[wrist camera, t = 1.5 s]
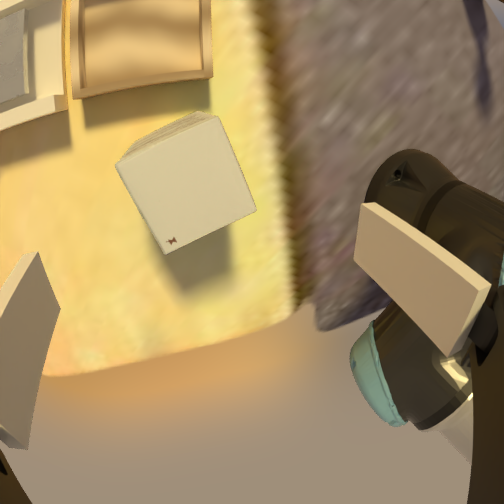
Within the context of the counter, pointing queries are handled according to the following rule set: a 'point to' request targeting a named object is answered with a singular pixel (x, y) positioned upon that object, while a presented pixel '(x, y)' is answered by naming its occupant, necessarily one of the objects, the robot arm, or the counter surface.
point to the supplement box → (185, 180)
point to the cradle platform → (13, 56)
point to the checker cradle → (39, 62)
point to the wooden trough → (138, 44)
